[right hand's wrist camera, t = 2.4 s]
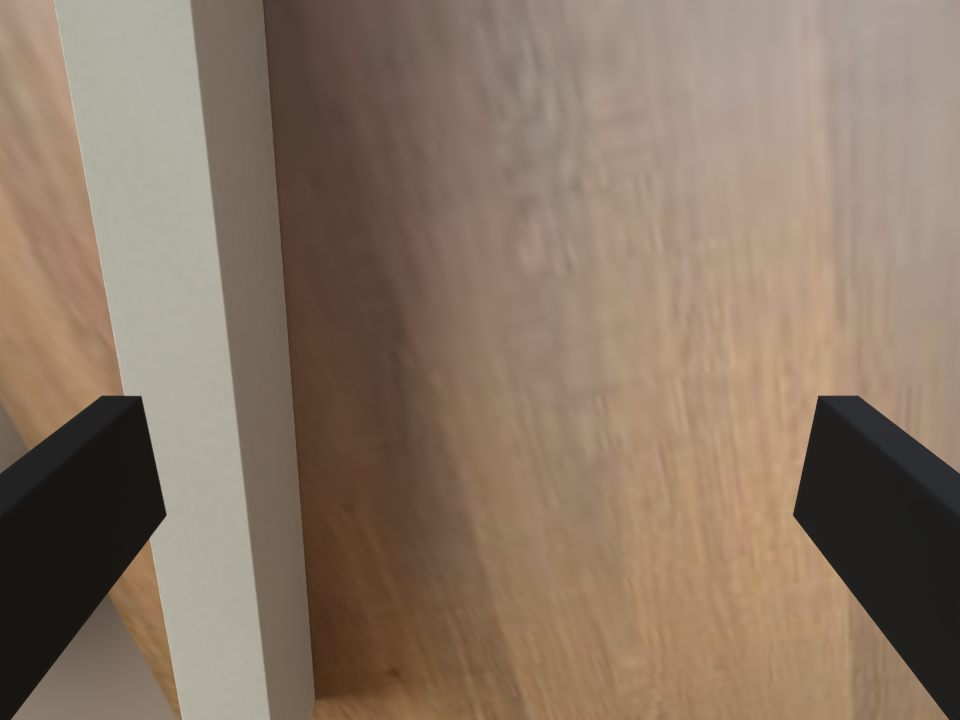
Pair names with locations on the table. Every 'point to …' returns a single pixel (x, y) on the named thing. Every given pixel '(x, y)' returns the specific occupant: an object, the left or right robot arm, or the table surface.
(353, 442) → the table surface
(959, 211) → the table surface
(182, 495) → the beam
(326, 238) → the table surface
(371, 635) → the table surface
